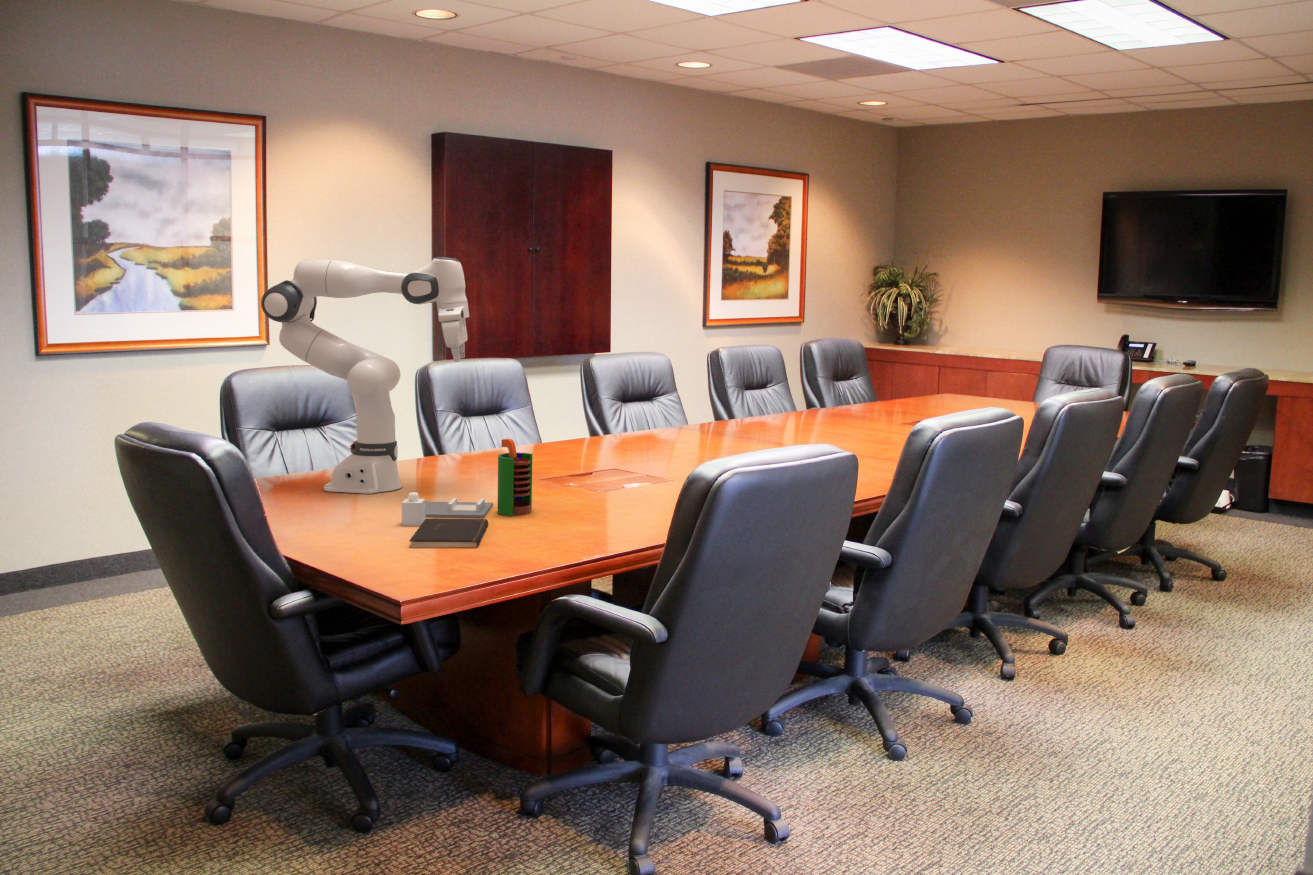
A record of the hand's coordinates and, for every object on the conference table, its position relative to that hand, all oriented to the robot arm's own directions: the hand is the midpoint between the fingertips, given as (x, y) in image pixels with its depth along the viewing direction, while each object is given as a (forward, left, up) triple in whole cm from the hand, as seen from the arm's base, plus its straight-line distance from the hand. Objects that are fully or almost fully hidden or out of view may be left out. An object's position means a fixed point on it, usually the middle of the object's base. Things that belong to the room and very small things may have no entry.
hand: (459, 360), depth 312 cm
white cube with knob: (-4, -43, -39) cm, 58 cm away
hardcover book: (+8, -56, -40) cm, 69 cm away
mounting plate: (+3, -28, -39) cm, 48 cm away
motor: (+20, -28, -39) cm, 52 cm away
